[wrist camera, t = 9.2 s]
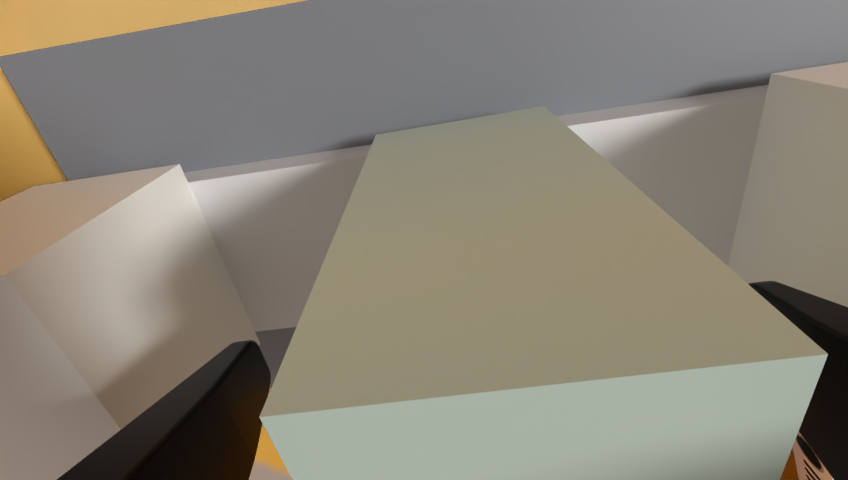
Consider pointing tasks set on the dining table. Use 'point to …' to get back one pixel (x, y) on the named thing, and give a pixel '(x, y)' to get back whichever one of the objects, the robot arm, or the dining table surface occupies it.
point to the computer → (808, 462)
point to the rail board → (344, 158)
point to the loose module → (529, 326)
